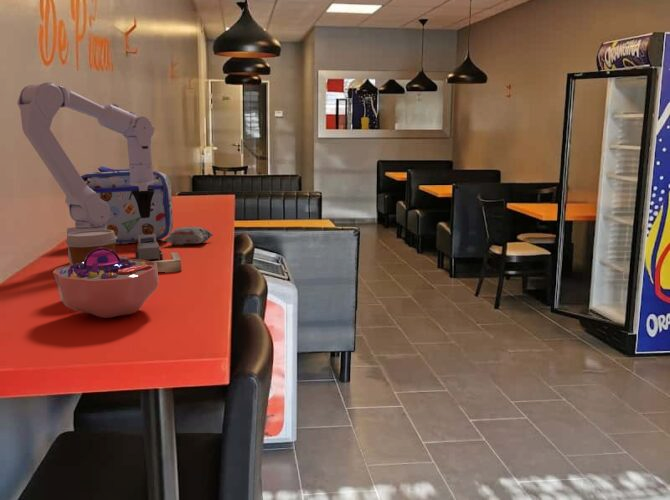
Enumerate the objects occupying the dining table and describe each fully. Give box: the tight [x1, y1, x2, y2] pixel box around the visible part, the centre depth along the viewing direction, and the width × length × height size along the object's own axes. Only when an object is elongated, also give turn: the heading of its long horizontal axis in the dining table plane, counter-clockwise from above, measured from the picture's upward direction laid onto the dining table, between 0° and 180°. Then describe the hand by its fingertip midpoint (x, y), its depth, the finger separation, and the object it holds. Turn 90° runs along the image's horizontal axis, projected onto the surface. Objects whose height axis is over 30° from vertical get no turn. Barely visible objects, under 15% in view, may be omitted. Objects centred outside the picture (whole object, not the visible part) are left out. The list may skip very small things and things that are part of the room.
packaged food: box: [161, 226, 214, 246], centre depth 197 cm, size 9×12×5 cm
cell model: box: [52, 248, 160, 319], centre depth 121 cm, size 17×20×11 cm
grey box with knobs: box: [134, 234, 164, 261], centre depth 176 cm, size 6×9×5 cm
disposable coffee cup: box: [65, 230, 117, 264], centre depth 138 cm, size 10×10×12 cm
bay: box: [120, 251, 183, 273], centre depth 162 cm, size 13×12×2 cm
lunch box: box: [80, 166, 174, 245], centre depth 203 cm, size 28×10×22 cm, turn 92°
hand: (145, 217), depth 184 cm, fingers open, 3 cm apart
